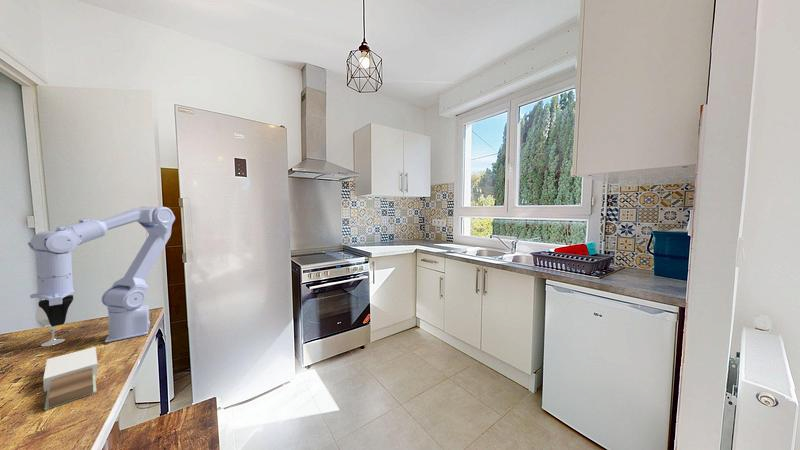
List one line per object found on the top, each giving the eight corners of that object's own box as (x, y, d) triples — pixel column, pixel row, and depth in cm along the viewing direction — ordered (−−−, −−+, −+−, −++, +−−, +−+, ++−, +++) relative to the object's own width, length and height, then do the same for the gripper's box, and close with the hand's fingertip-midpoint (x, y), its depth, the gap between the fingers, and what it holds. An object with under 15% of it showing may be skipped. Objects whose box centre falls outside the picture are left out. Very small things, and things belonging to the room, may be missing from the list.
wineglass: (72, 340, 81) (70, 302, 81) (42, 349, 76) (40, 309, 75) (63, 336, 83) (61, 300, 82) (33, 345, 78) (31, 306, 77)
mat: (47, 390, 59) (47, 389, 59) (94, 375, 65) (94, 374, 64) (44, 410, 53) (44, 408, 53) (96, 392, 59) (96, 391, 59)
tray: (47, 370, 66) (47, 359, 66) (95, 357, 72) (95, 346, 72) (43, 391, 59) (43, 379, 58) (98, 374, 65) (97, 363, 65)
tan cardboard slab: (51, 388, 59) (51, 380, 59) (92, 376, 64) (92, 368, 64) (48, 408, 54) (48, 398, 54) (93, 392, 58) (93, 384, 58)
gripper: (31, 273, 71) (34, 322, 71) (26, 283, 62) (29, 338, 63) (73, 269, 76) (75, 314, 77) (74, 278, 67) (76, 328, 68)
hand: (57, 324), depth 70 cm, fingers closed
